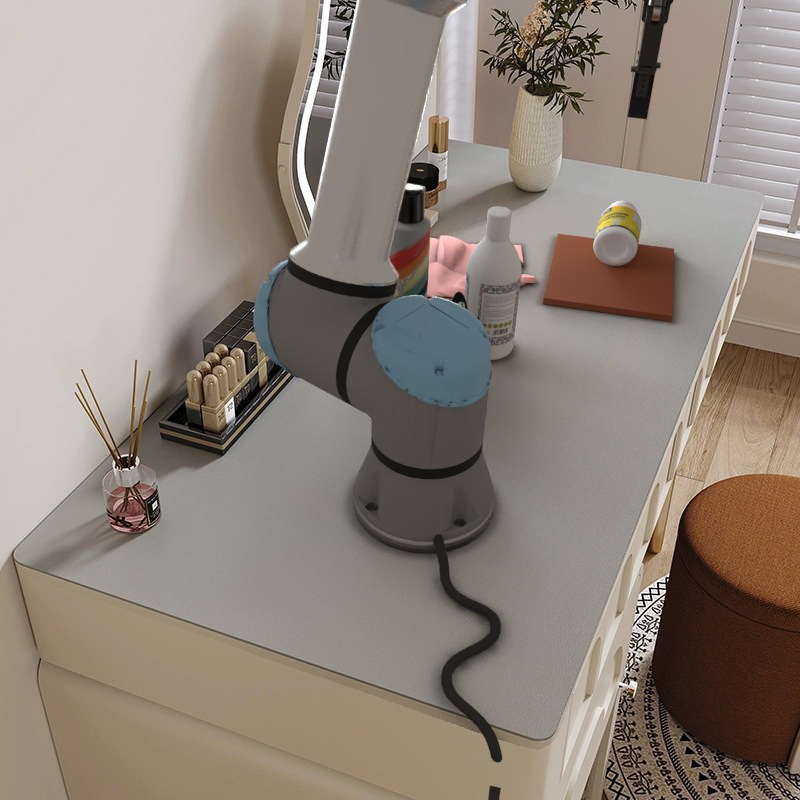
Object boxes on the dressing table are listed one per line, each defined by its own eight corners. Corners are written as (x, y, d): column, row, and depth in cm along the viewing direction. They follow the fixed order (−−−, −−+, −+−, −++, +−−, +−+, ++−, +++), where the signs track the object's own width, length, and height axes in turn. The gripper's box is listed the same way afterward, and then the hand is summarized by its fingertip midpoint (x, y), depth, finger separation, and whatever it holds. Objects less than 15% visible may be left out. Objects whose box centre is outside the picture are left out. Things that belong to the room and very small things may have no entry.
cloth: (370, 278, 151) (370, 263, 149) (447, 222, 165) (448, 208, 164) (491, 322, 142) (492, 307, 140) (561, 259, 157) (563, 245, 155)
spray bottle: (379, 325, 141) (381, 190, 128) (392, 304, 145) (396, 172, 133) (418, 333, 139) (424, 198, 127) (431, 312, 143) (438, 180, 131)
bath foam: (523, 350, 137) (540, 213, 125) (485, 368, 133) (498, 229, 121) (488, 327, 141) (500, 193, 129) (450, 344, 137) (459, 208, 125)
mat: (671, 321, 143) (672, 315, 143) (542, 303, 146) (543, 297, 146) (673, 254, 159) (674, 248, 158) (556, 238, 162) (557, 233, 161)
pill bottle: (583, 247, 152) (592, 213, 161) (613, 276, 154) (620, 240, 163) (616, 220, 148) (623, 186, 157) (647, 249, 150) (652, 215, 159)
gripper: (699, -48, 125) (663, 137, 139) (698, -72, 135) (665, 102, 149) (636, -54, 126) (607, 130, 140) (640, -77, 136) (613, 97, 150)
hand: (637, 116), depth 145 cm, fingers closed
